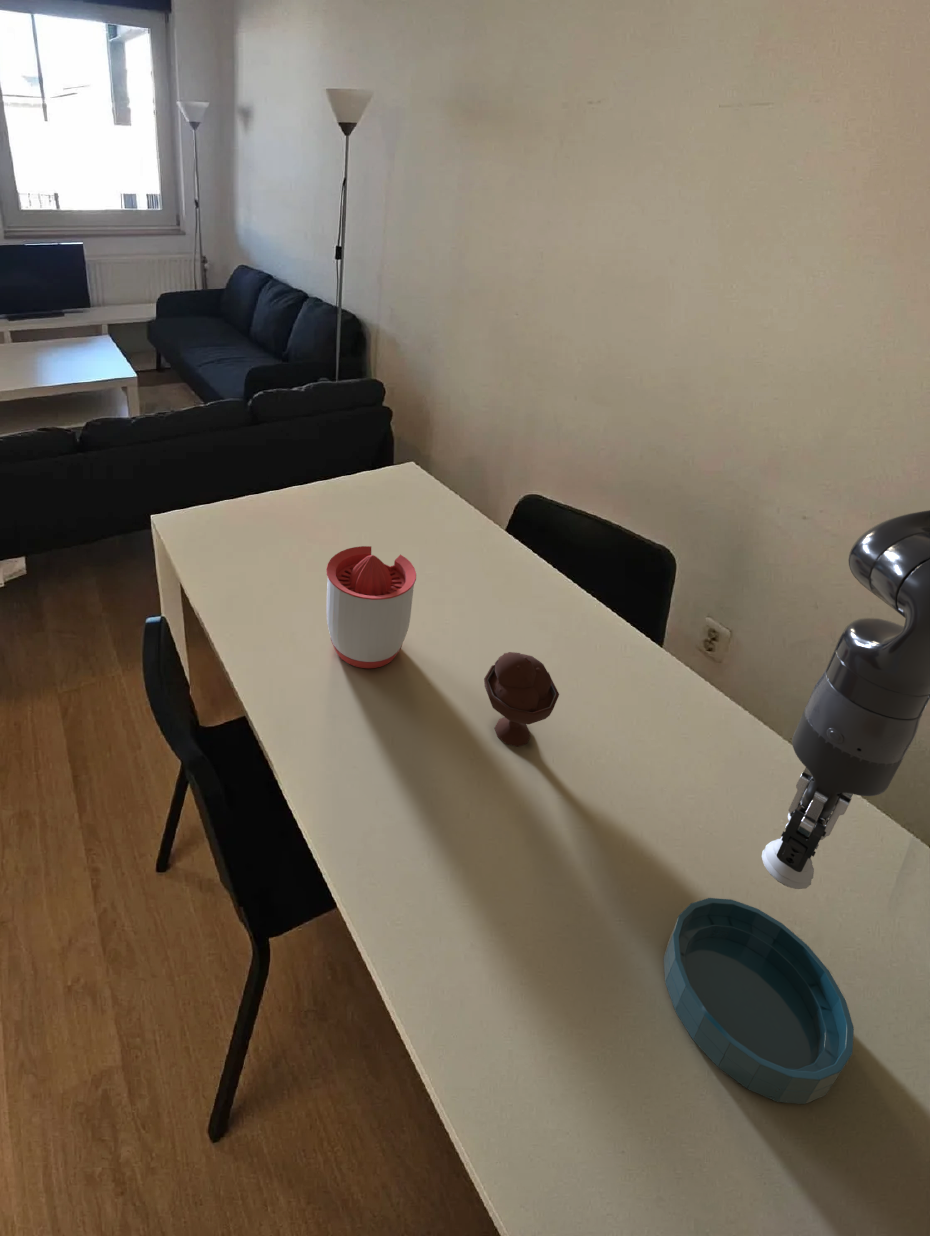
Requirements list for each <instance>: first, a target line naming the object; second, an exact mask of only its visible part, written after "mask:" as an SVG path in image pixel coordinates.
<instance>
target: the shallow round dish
mask: <svg viewBox="0 0 930 1236" xmlns="http://www.w3.org/2000/svg"><path fill="white" fill-rule="evenodd" d="M674 923H675V924H674V926H673V929H672V931H671V934H670V936H669V938H668V942H667V945H666V948H665V952H664V954H663V971H664V972H663V973H664V982H665V986H666V989H667V991H668V995H669V997H670V1001H671V1003H672V1005H673V1009H674V1011H675V1013H676V1015H677V1017H678V1018H679V1020H680V1021H681V1023H682V1024H683V1026H684V1028H685V1029H686V1031H687V1032H688V1035H689V1036H690V1038H691V1039H692V1040H693V1042H694V1043H695V1044H696V1045H697V1046H698V1047H699V1048H700V1050H702V1052H703V1053H704V1054H705V1055H706V1056H707V1057H708V1058H709V1059H710V1060H711V1062H713V1064H714V1065H715V1066H716V1067H717V1068H719V1069H720V1070H721V1071H723V1072H724V1073H725V1074H726V1075H728V1076H729V1077H731V1078H732V1079H733V1080H734V1081H736V1082H738V1083H739V1084H740V1085H741V1086H743V1087H744V1088H745V1089H747V1090H749V1091H751V1092H753V1093H756V1094H758V1095H760V1096H763V1097H765V1098H767V1099H769V1100H772V1101H774V1102H777V1103H785V1104H797V1105H798V1104H799V1105H806V1104H808V1103H811V1102H813V1101H816V1100H818V1099H820V1098H822V1097H825V1096H826V1095H827V1094H828V1093H829V1091H830V1089H831V1088H832V1086H833V1085H834V1083H835V1081H836V1080H837V1079H838V1077H839V1075H840V1074H841V1073H842V1071H843V1069H844V1068H845V1066H846V1065H847V1063H848V1062H849V1060H850V1059H851V1057H852V1056H853V1053H854V1035H855V1034H854V1033H855V1026H854V1023H853V1021H852V1017H851V1013H850V1011H849V1007H848V1004H847V1000H846V997H845V996H844V994H843V993H842V991H841V989H840V987H839V985H838V984H837V982H836V980H835V978H834V977H833V975H832V973H831V971H830V970H829V969H828V968H827V966H826V965H825V964H824V963H823V962H822V960H821V959H820V958H819V957H818V955H817V954H816V953H815V952H814V951H813V949H811V947H810V946H809V945H808V944H807V943H806V942H804V940H802V939H801V938H800V937H799V936H798V935H796V934H795V933H794V932H793V931H792V930H791V929H790V928H788V927H787V926H786V925H785V924H784V923H782V922H781V921H779V920H778V919H776V918H775V917H772V916H771V915H769V914H768V913H765V912H764V911H762V910H761V909H759V908H757V907H754V906H752V905H748V904H746V903H743V902H741V901H737V900H734V899H730V898H717V897H707V898H704V899H700V900H697V901H694V902H691V903H690V904H689V905H687V906H686V908H685V909H684V910H682V911H681V913H679V914H678V916H677V918H676V921H675V922H674Z"/></svg>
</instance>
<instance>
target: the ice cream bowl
mask: <svg viewBox="0 0 930 1236" xmlns="http://www.w3.org/2000/svg"><path fill="white" fill-rule="evenodd" d="M483 681H484V688H485V691H486V694H487V696H488V699H489V702H490V705H491V707H492V709H494V710H495V711H496V712H497V713H499V714H500V715H501V716H502V718H501V717H500V718H499V719H498V720H497V722H496V724H495V725H494V731H495V734H496V737H497V738H498V739H499V740H501V741H502V742H503V743H504V744H505V745H508V746H513V747H521V746H524V745H527V744H528V743H529V742H530V741H529V740H530V738H531V733H530V730H529V727H528V726H527V725H531V724H535V723H539V722H541V721H544V720H546V719H547V718H549V717H550V716H551V714H552V713H553V711H554V708H555V706H556V703H557V701H558V698H559V696H560V693H559V690H558V688H557V686H556V685H555V683H554V681H553V679H552V677H551V674H550V672H549V671H548V670H547V668H546V666H545V665H544V663H542V661H540V660H539V659H537V658H536V657H534V656H533V655H530V654H524V653H521V652H514V651H513V652H512V651H508V652H504V653H503V654H502V655H500V656H498V658H497V660H496V661H495V662H494V664H493V665H491V666H490V667H489V670H488V671H487V673H486V675H485V677H484V679H483Z"/></svg>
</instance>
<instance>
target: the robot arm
mask: <svg viewBox="0 0 930 1236" xmlns="http://www.w3.org/2000/svg"><path fill="white" fill-rule="evenodd" d="M848 568H849V570H850V572H851V574H852V576H853V577H854V579H856V581H857V582H859V584H860V585H862V587H864V588H865V589H866V590H868V591H869V592H870V593H872V594H873V595H874V596H875V597H876V598H878V599H880V600H881V601H882V602H884V604H886V605H887V606H888V607H890V608H891V609H893V610H894V611H895V612H896V613H898V614H899V615H900V616H902V617H903V618H904V619H905V620H904V625H902V624H899V623H896V622H894V621H891V620H888V619H883V618H878V617H861V618H856V619H854V620H852V621H851V622H850V623H849V624H848V625H846V626H845V628H844V630H843V631H842V633H841V635H840V636H839V638H838V641H837V643H836V645H835V648H834V650H833V652H832V654H831V656H830V659H829V661H828V664H827V666H826V668H825V670H824V671H823V672H822V674H821V676H820V677H819V679H817V682H816V683H815V685H814V686H813V689H812V691H811V693H810V696H809V698H808V700H807V703H806V705H805V707H804V709H803V712H802V714H801V716H800V718H799V721H798V724H797V726H796V728H795V730H794V733H793V735H792V739H791V744H792V748H793V750H794V753H795V755H796V757H797V758H798V760H799V761H800V762H801V763H802V765H803V766H804V767H805V768H804V770H803V771H802V772H801V774H800V776H799V779H798V780H797V782H796V785H795V786H796V793H795V795H794V797H793V799H792V801H791V803H790V804H789V805H790V806H789V807H788V813H790V816H791V819H790V821H789V820H788V822H787V823H788V825H786V824H785V827H784V830H785V831H784V830H782V833H781V835H780V836H781V837H782V839H781V840H782V841H783V842H782V844H781V846H780V849H779V851H778V853H777V858H778V859H779V860H780V861H781V862H783V863H784V864H786V865H787V866H789V867H790V868H792V869H793V870H795V871H797V872H801V871H802V870H803V868H804V866H805V864H806V862H807V860H808V858H809V859H810V858H811V859H812V857H813V858H814V857H815V855H816V850H818V848H819V843H820V841H821V840H820V839H821V837H822V836H823V837H824V836H826V837H829V836H830V835H831V833H832V831H833V829H834V827H835V825H836V823H837V821H838V820H839V817H840V816H844V815H845V814H846V811H847V810H848V808H849V806H850V803H851V801H852V797H853V795H855V796H859V797H860V796H862V797H874V796H878V795H881V794H883V793H884V792H885V791H887V789H888V788H889V787H890V784H891V783H892V781H893V779H894V777H895V775H896V773H897V772H898V769H899V767H900V766H901V764H902V763H903V760H904V758H905V756H906V754H907V753H908V751H909V749H910V747H911V745H912V743H913V741H914V740H915V738H916V735H917V733H918V729H919V726H920V723H921V719H922V716H923V714H924V712H925V711H926V709H927V707H928V705H929V703H930V509H928V510H927V509H926V510H920V511H915V512H910V513H904V514H901V515H898V516H894V517H891V518H887V519H885V520H883V521H881V522H879V523H877V524H875V525H874V526H872V527H870V528H868V529H867V530H866V531H864V532H863V533H862V534H861V535H859V537H858V538H857V539H856V541H855V542H854V543H853V544H852V546H851V548H850V551H849V553H848ZM802 806H803V807H802ZM821 818H822V819H821Z"/></svg>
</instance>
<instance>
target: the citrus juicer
mask: <svg viewBox="0 0 930 1236" xmlns="http://www.w3.org/2000/svg"><path fill="white" fill-rule="evenodd" d="M393 561H394V563H393V565H389V564H386V563H384V562H383V561H382V560H381V559H380V558H379V557H378V556H376V555H374V554H372V546H367V545H361V546H353V547H350V548H346V549H343V550H341V551H339V552H337V553H336V554H334V555H333V556H332V557H331V558H329V561H328V562H327V564H326V571H325V572H326V577H327V580H326V581H327V585H326V609H325V610H326V623H327V629H328V633H329V636H330V641H331V644H332V646H333V648H334V651H335V652H336V654H337V656H338V657H339V658H340V659H341V660H342V661H343V662H345V663H347V664H349V665H351V666H352V667H356V668H361V669H376V668H380V667H381V668H382V667H384V666H386V665H388V664H389V663H391V662H392V661H393V660H394V659H395V657H396V656H397V655H398V654H399V652H400V650H401V649H402V646H403V644H404V641H405V639H406V636H407V634H408V630H409V627H410V622H411V615H412V606H413V595H414V588H415V584H416V581H417V571H416V569H415V566H414V564H413V563H412V562H411V561H410V560H409V559H408V558H407V557H405V556H404V555H402V554H399V555H398V556H397V558H395V560H393Z"/></svg>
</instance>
